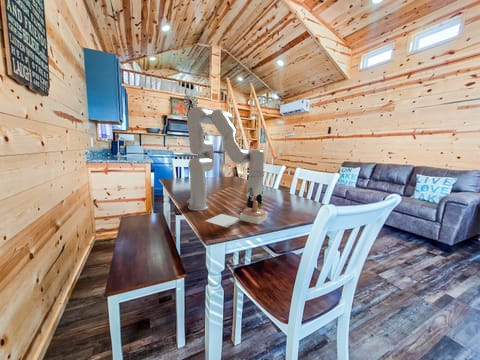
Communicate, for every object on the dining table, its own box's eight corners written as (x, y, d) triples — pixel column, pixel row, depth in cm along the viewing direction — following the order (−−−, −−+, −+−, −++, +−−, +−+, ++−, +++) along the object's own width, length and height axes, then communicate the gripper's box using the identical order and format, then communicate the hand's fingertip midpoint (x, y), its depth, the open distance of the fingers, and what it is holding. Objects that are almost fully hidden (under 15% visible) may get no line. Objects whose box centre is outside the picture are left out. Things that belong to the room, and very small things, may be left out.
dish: (239, 220, 112) (240, 213, 111) (250, 214, 121) (250, 208, 120) (258, 225, 106) (258, 217, 105) (267, 219, 115) (268, 212, 114)
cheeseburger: (266, 209, 131) (265, 195, 127) (259, 218, 123) (258, 203, 119) (251, 206, 136) (251, 192, 132) (243, 214, 128) (242, 200, 124)
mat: (204, 221, 108) (204, 220, 108) (221, 214, 120) (221, 213, 120) (226, 228, 101) (226, 227, 101) (242, 219, 113) (242, 219, 113)
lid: (238, 213, 111) (239, 201, 110) (250, 207, 121) (250, 197, 120) (259, 218, 104) (259, 206, 103) (269, 212, 114) (269, 200, 113)
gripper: (257, 171, 118) (256, 200, 121) (240, 174, 104) (239, 208, 107) (269, 172, 114) (267, 203, 117) (254, 176, 100) (252, 211, 103)
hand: (254, 205), depth 112 cm, fingers open, 9 cm apart
